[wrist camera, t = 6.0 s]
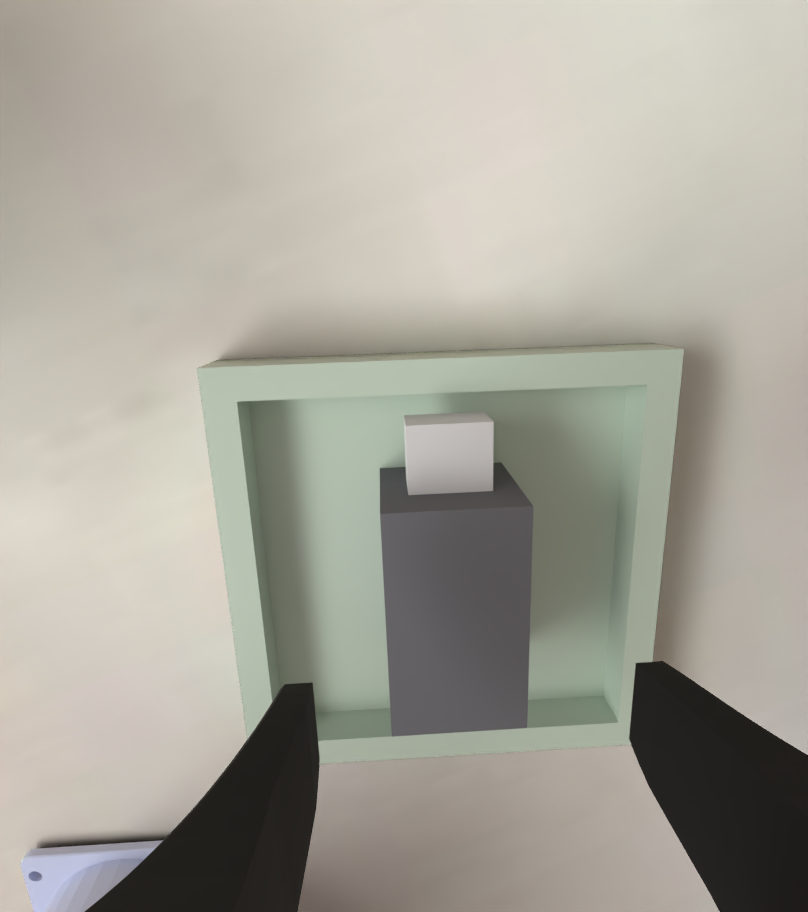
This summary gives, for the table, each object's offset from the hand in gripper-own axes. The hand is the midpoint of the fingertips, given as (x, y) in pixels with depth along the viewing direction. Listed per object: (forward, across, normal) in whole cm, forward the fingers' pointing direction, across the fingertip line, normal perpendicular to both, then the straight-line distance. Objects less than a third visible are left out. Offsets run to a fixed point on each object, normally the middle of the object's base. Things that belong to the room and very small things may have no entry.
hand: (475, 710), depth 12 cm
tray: (+8, 0, 0) cm, 8 cm away
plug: (+7, 0, 0) cm, 7 cm away
